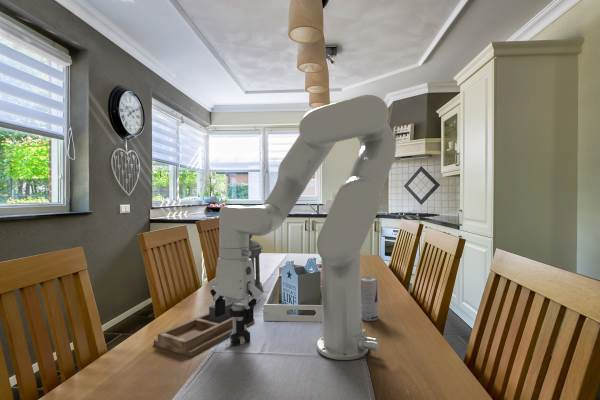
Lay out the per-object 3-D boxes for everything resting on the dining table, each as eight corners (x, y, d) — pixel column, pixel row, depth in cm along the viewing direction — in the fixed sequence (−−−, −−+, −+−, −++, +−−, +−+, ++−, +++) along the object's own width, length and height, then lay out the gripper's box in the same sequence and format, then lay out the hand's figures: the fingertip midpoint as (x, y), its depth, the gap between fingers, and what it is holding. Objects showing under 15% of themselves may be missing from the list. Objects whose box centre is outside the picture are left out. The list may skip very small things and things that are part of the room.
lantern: (261, 297, 125) (258, 203, 125) (216, 298, 125) (213, 204, 125) (266, 284, 142) (264, 202, 141) (227, 285, 142) (224, 203, 142)
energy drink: (379, 316, 103) (378, 277, 103) (375, 322, 98) (375, 281, 98) (362, 314, 105) (361, 276, 105) (358, 320, 100) (357, 280, 100)
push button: (229, 350, 82) (228, 310, 82) (221, 343, 87) (220, 305, 87) (254, 343, 86) (252, 304, 86) (245, 336, 91) (244, 299, 90)
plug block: (234, 319, 100) (233, 297, 100) (219, 326, 95) (218, 303, 95) (224, 317, 102) (223, 295, 102) (209, 324, 97) (208, 301, 97)
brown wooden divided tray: (254, 322, 100) (254, 312, 100) (190, 357, 80) (190, 343, 80) (220, 314, 107) (219, 305, 107) (153, 344, 87) (153, 332, 87)
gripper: (269, 254, 85) (269, 321, 85) (220, 248, 94) (219, 308, 94) (250, 259, 78) (250, 331, 79) (199, 252, 87) (199, 316, 88)
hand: (233, 319), depth 87 cm, fingers open, 9 cm apart
